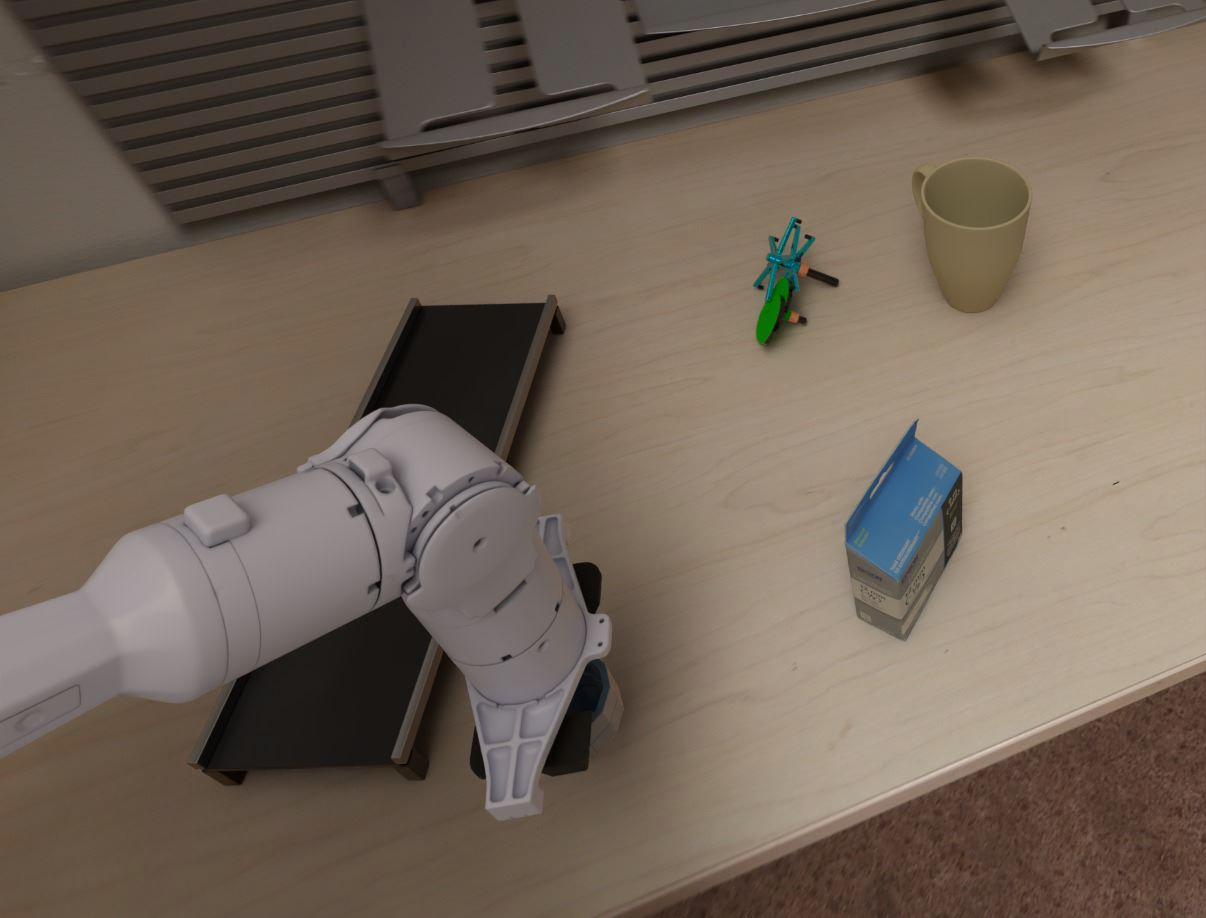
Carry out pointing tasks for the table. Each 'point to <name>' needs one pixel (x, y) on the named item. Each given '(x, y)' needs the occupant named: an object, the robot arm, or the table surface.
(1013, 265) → the mug
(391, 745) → the conveyor belt
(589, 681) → the cup
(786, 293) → the stick construction toy
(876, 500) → the label tape box
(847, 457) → the table surface
